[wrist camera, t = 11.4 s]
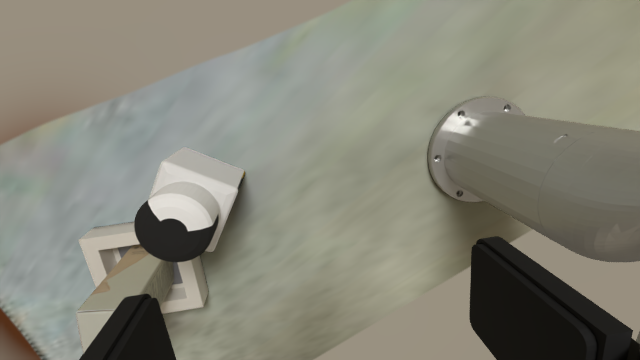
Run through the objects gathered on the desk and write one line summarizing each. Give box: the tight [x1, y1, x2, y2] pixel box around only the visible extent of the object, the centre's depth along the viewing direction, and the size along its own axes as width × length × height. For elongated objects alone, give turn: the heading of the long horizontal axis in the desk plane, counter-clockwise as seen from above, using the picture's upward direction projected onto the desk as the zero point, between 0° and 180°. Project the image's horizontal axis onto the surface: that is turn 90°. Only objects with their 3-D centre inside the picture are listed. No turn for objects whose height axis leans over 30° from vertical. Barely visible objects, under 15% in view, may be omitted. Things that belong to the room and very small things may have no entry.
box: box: [76, 245, 174, 354], centre depth 33 cm, size 5×4×11 cm
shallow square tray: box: [79, 222, 209, 314], centre depth 37 cm, size 10×10×3 cm
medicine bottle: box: [134, 147, 245, 262], centre depth 31 cm, size 7×7×12 cm
